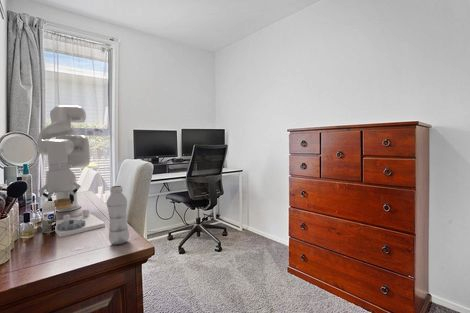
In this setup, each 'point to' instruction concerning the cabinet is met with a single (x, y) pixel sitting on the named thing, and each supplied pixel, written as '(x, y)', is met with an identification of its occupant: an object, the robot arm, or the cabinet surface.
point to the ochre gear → (62, 203)
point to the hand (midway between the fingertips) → (61, 204)
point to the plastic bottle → (117, 216)
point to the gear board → (88, 225)
